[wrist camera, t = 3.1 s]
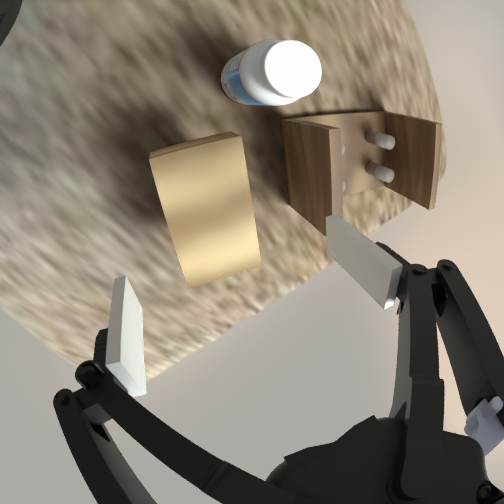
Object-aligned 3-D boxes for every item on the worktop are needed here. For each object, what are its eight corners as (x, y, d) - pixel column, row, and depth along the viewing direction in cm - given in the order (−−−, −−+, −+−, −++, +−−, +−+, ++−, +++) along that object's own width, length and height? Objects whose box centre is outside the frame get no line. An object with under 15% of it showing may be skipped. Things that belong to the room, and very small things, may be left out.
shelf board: (250, 248, 29) (261, 266, 26) (184, 267, 28) (189, 288, 25) (230, 131, 23) (241, 135, 20) (150, 151, 21) (148, 159, 18)
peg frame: (289, 205, 35) (332, 242, 27) (280, 119, 29) (328, 129, 21) (385, 182, 38) (434, 208, 30) (385, 111, 32) (441, 123, 24)
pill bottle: (276, 102, 28) (333, 106, 19) (223, 108, 27) (258, 111, 18) (271, 52, 25) (327, 34, 16) (216, 55, 23) (249, 30, 14)
